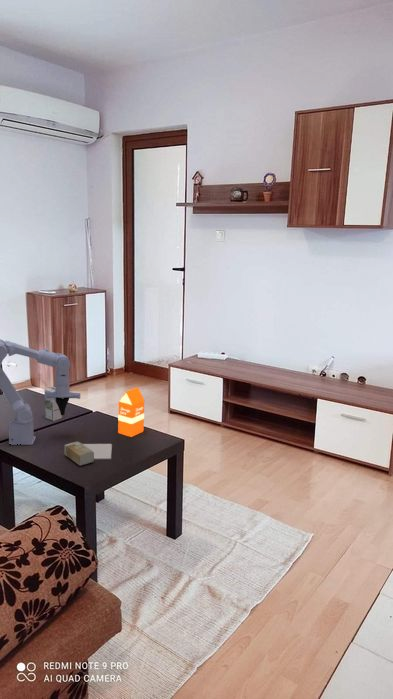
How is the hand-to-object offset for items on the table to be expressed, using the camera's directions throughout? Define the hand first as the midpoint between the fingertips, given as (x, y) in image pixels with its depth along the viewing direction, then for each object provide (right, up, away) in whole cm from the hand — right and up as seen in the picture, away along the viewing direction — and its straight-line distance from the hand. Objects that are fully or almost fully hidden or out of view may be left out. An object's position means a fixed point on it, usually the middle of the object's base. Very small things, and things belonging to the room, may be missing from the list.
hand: (62, 414), depth 214 cm
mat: (+15, -14, -10) cm, 23 cm away
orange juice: (+27, -10, +12) cm, 31 cm away
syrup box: (-11, -5, +24) cm, 26 cm away
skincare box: (+7, -11, -14) cm, 19 cm away
